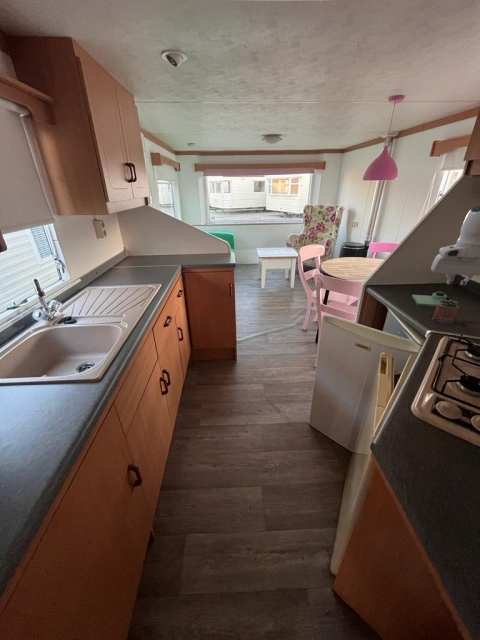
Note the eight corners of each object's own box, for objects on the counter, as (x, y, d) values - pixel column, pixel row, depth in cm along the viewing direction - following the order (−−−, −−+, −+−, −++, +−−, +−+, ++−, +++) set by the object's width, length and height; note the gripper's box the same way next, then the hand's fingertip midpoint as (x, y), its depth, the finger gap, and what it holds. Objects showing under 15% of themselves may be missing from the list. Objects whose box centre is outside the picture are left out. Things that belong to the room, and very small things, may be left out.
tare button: (442, 294, 137) (443, 291, 136) (444, 297, 135) (445, 293, 134) (434, 294, 138) (435, 291, 137) (436, 296, 135) (438, 293, 135)
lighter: (452, 320, 117) (460, 300, 113) (454, 324, 115) (462, 303, 110) (431, 317, 120) (438, 297, 116) (432, 321, 118) (439, 300, 113)
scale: (442, 298, 139) (444, 293, 138) (451, 308, 129) (453, 302, 127) (411, 296, 143) (412, 290, 142) (417, 305, 133) (419, 299, 131)
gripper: (496, 250, 103) (482, 283, 109) (435, 248, 109) (425, 280, 115) (505, 253, 98) (490, 289, 104) (440, 251, 104) (430, 285, 110)
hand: (455, 284), depth 110 cm, fingers open, 3 cm apart
